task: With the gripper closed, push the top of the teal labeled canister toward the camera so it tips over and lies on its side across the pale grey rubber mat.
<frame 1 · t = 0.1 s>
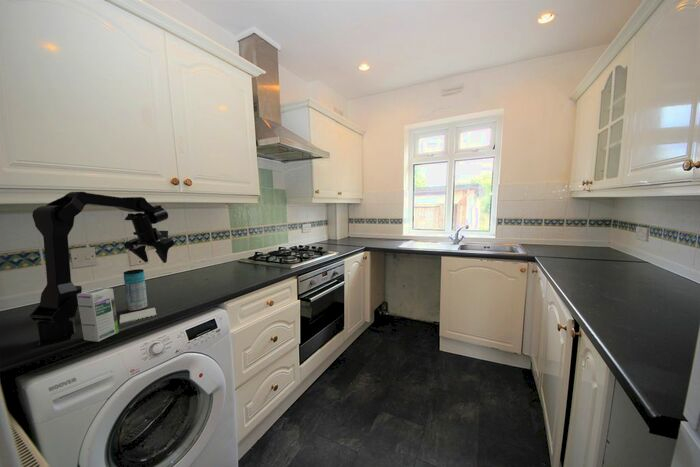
hand: (155, 262, 110), 15 cm above the countertop, tool pointing down, fingers open, 9 cm apart
syrup box: (101, 337, 79), on the countertop
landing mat: (138, 315, 93), on the countertop
teal labeled canister: (138, 309, 99), on the countertop
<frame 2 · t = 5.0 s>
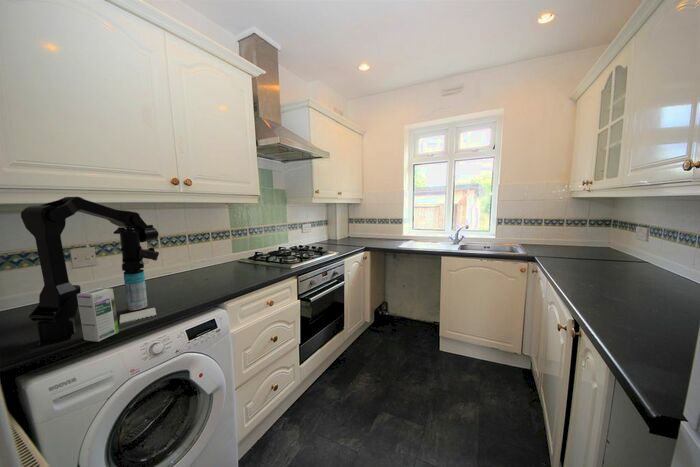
hand: (134, 283, 102), 9 cm above the countertop, tool pointing down, fingers closed
teal labeled canister: (138, 309, 99), on the countertop, touching gripper
everything else where it was.
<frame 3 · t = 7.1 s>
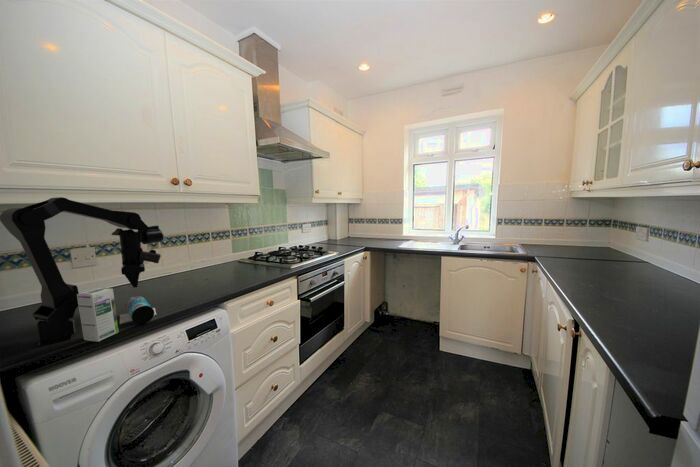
hand: (135, 287, 97), 9 cm above the countertop, tool pointing down, fingers closed
teal labeled canister: (135, 303, 96), point 3 cm above the countertop, touching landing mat
everything else where it was.
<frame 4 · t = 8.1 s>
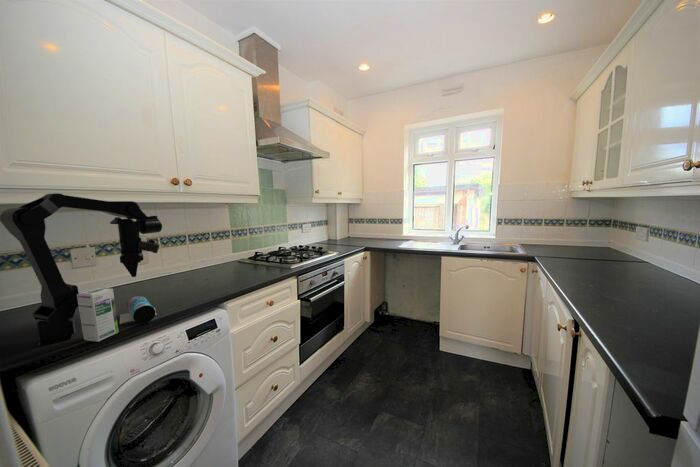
hand: (134, 276, 97), 13 cm above the countertop, tool pointing down, fingers closed
nothing on the countertop moved.
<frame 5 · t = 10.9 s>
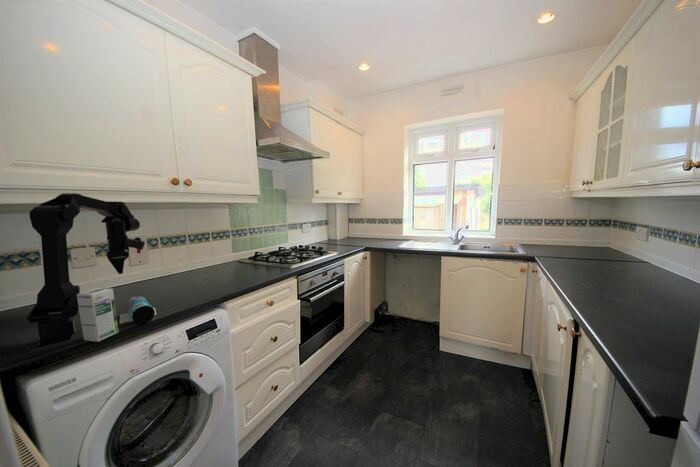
hand: (121, 271, 105), 13 cm above the countertop, tool pointing down, fingers open, 9 cm apart
nothing on the countertop moved.
at the end: teal labeled canister tilted 90°; teal labeled canister touching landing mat; teal labeled canister inside the target area (1.7 cm from its centre), point 3.4 cm above the countertop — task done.
